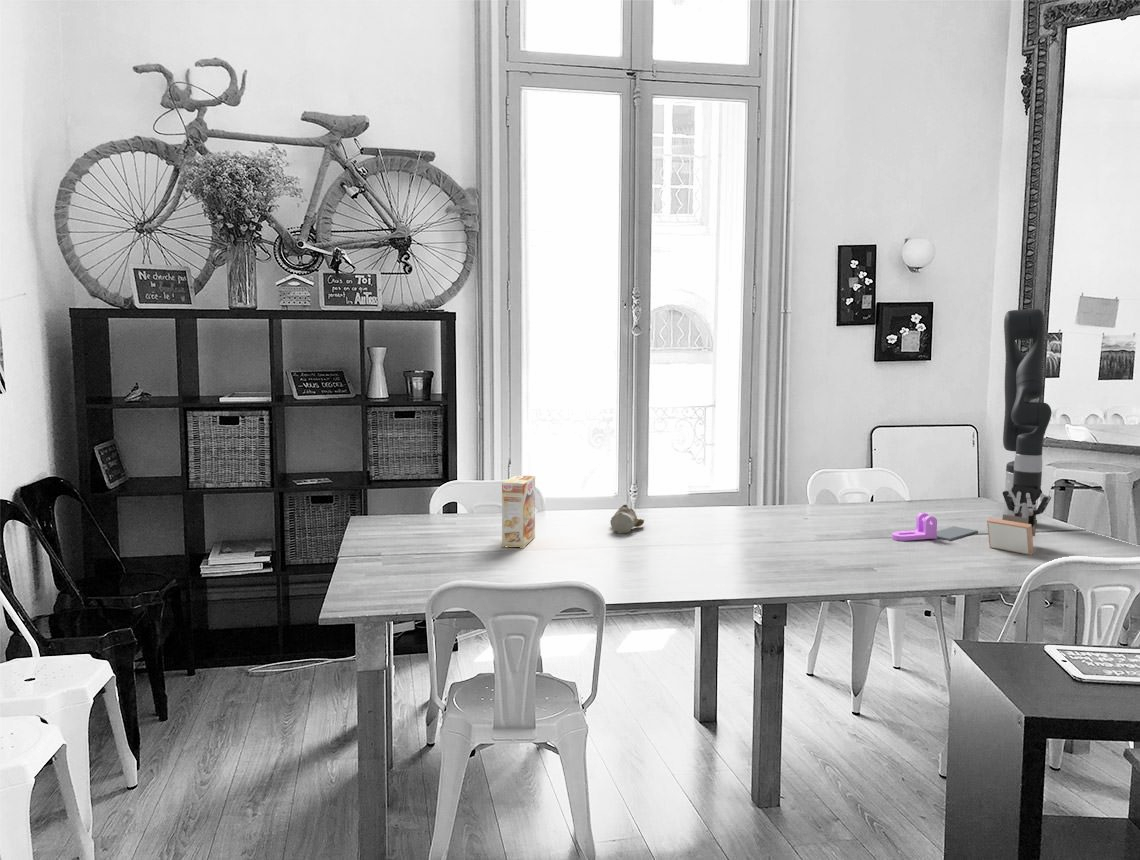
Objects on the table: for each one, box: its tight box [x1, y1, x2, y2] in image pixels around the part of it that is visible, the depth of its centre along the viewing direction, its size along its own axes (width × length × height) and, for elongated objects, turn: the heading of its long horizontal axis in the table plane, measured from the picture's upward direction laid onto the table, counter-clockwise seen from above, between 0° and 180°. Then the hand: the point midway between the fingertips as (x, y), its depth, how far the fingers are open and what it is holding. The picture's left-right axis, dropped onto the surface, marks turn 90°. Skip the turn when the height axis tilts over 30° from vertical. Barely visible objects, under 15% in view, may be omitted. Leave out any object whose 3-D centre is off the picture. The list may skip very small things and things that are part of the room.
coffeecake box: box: [501, 474, 536, 549], centre depth 284 cm, size 15×7×20 cm, turn 168°
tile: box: [986, 517, 1035, 556], centre depth 275 cm, size 2×12×9 cm, turn 41°
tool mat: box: [936, 525, 979, 542], centre depth 297 cm, size 18×8×1 cm, turn 130°
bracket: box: [891, 512, 938, 542], centre depth 291 cm, size 13×6×7 cm, turn 99°
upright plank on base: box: [1001, 513, 1038, 537], centre depth 279 cm, size 12×7×5 cm, turn 131°
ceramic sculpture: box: [610, 504, 645, 534], centre depth 302 cm, size 11×9×15 cm
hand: (1024, 526), depth 280 cm, fingers closed on upright plank on base, 3 cm apart
